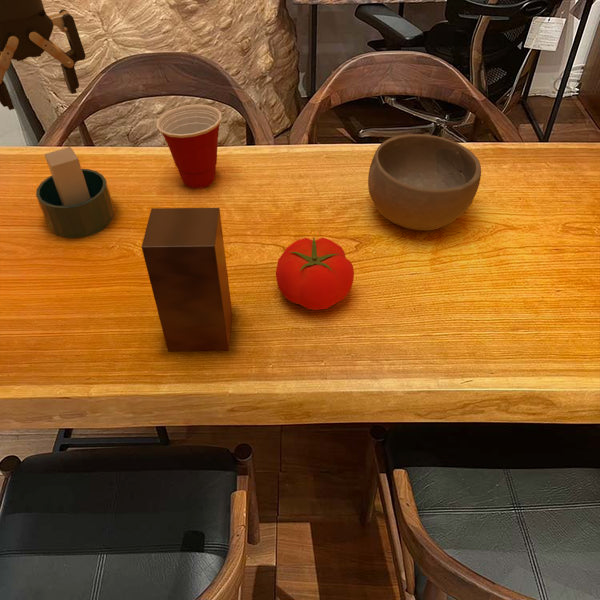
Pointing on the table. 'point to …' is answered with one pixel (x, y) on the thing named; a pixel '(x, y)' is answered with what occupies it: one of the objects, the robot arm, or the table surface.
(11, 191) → the table surface
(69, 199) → the block
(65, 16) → the robot arm
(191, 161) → the plastic cup
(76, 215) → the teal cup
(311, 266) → the tomato
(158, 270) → the pedestal
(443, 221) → the bowl
